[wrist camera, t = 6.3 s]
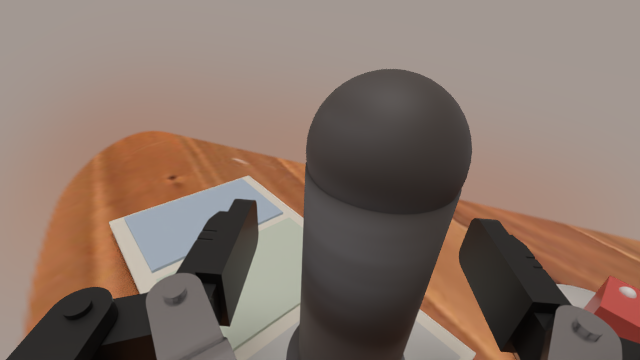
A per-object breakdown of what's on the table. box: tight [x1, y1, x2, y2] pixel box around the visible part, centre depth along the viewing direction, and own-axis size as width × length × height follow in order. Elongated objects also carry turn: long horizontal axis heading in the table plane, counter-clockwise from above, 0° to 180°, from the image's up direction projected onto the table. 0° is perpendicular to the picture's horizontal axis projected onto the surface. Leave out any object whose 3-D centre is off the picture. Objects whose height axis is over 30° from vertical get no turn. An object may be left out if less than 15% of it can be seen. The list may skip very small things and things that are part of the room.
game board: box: [109, 176, 476, 360], centre depth 18 cm, size 11×21×1 cm, turn 42°
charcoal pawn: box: [286, 69, 472, 360], centre depth 10 cm, size 5×5×12 cm
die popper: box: [514, 276, 640, 360], centre depth 14 cm, size 7×7×5 cm
